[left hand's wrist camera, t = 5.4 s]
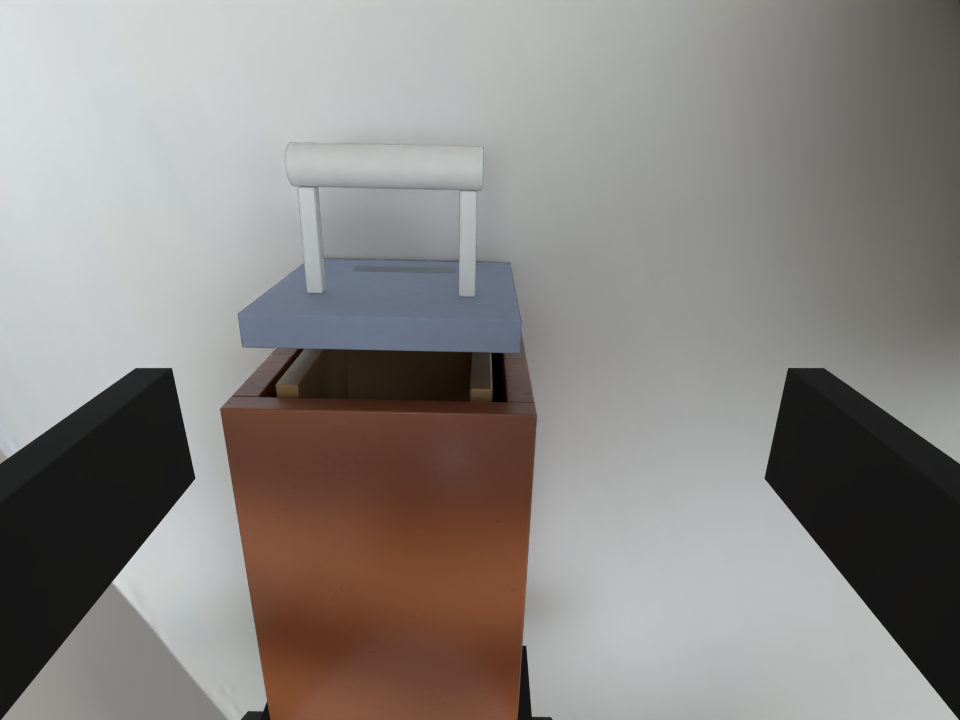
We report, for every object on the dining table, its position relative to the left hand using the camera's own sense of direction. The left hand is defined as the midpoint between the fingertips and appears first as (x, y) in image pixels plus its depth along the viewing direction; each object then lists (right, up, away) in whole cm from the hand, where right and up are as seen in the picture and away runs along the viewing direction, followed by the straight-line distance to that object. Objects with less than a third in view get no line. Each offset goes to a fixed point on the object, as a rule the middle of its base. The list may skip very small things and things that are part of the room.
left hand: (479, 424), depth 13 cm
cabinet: (-4, -6, +20) cm, 21 cm away
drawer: (-3, -1, +17) cm, 17 cm away
